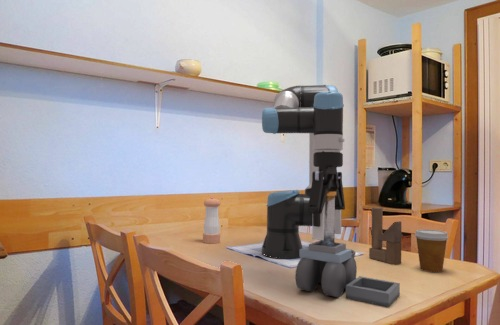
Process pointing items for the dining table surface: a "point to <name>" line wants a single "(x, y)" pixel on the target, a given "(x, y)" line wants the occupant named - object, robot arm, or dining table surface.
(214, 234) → the salt shaker
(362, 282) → the tray
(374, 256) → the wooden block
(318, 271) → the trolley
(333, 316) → the dining table surface
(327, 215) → the capped glass tube
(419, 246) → the disposable coffee cup
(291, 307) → the dining table surface
